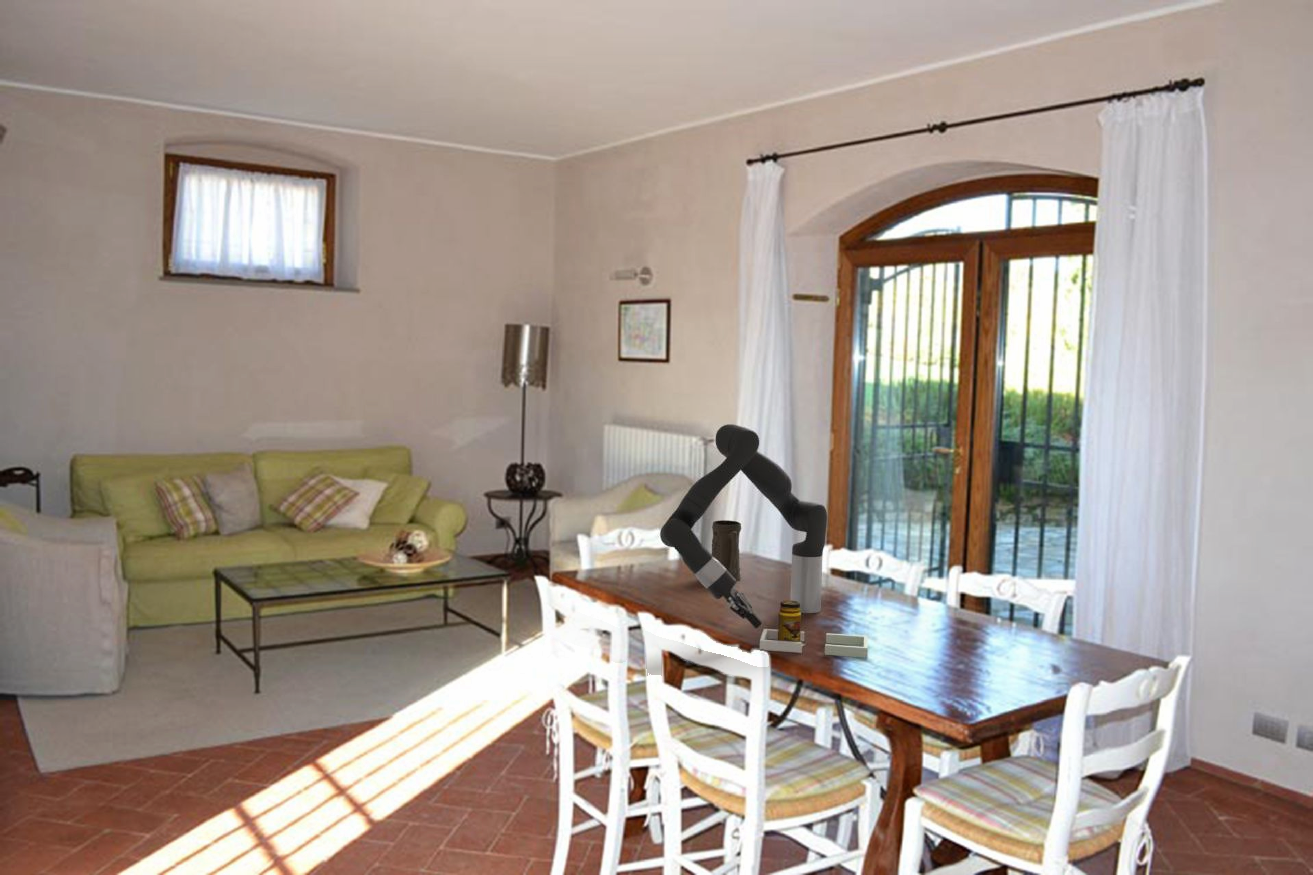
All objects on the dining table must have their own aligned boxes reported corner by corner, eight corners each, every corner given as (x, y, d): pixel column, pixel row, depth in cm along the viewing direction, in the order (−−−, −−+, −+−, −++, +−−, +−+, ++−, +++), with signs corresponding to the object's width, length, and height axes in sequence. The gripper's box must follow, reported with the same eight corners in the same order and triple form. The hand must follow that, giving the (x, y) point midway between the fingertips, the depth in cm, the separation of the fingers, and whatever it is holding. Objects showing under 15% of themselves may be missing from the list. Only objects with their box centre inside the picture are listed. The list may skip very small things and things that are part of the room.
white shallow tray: (826, 642, 303) (826, 633, 303) (867, 645, 301) (867, 636, 301) (824, 654, 291) (825, 645, 291) (867, 657, 289) (867, 648, 289)
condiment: (795, 651, 294) (796, 606, 293) (765, 646, 298) (767, 601, 297) (805, 645, 300) (807, 601, 299) (776, 640, 304) (778, 596, 303)
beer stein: (702, 575, 386) (706, 519, 383) (730, 573, 391) (733, 518, 388) (723, 588, 373) (727, 529, 370) (751, 585, 377) (755, 528, 374)
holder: (763, 637, 306) (764, 628, 306) (803, 640, 304) (804, 631, 304) (759, 649, 294) (759, 640, 294) (801, 652, 292) (801, 643, 292)
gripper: (722, 573, 294) (767, 622, 293) (728, 564, 307) (771, 610, 306) (702, 592, 295) (746, 640, 294) (708, 581, 308) (751, 628, 307)
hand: (759, 625), depth 300 cm, fingers closed
